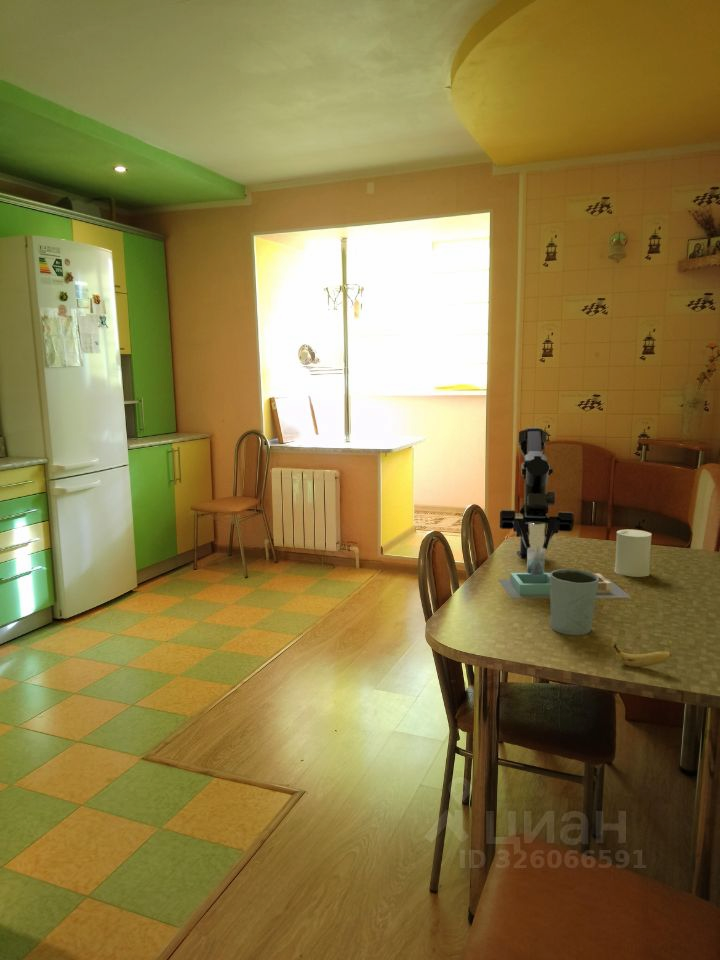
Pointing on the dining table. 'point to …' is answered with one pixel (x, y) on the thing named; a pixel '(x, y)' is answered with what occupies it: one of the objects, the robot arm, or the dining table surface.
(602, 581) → the socket block
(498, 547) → the dining table surface
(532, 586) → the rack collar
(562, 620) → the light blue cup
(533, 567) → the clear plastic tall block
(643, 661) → the banana
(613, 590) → the mat
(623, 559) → the can
